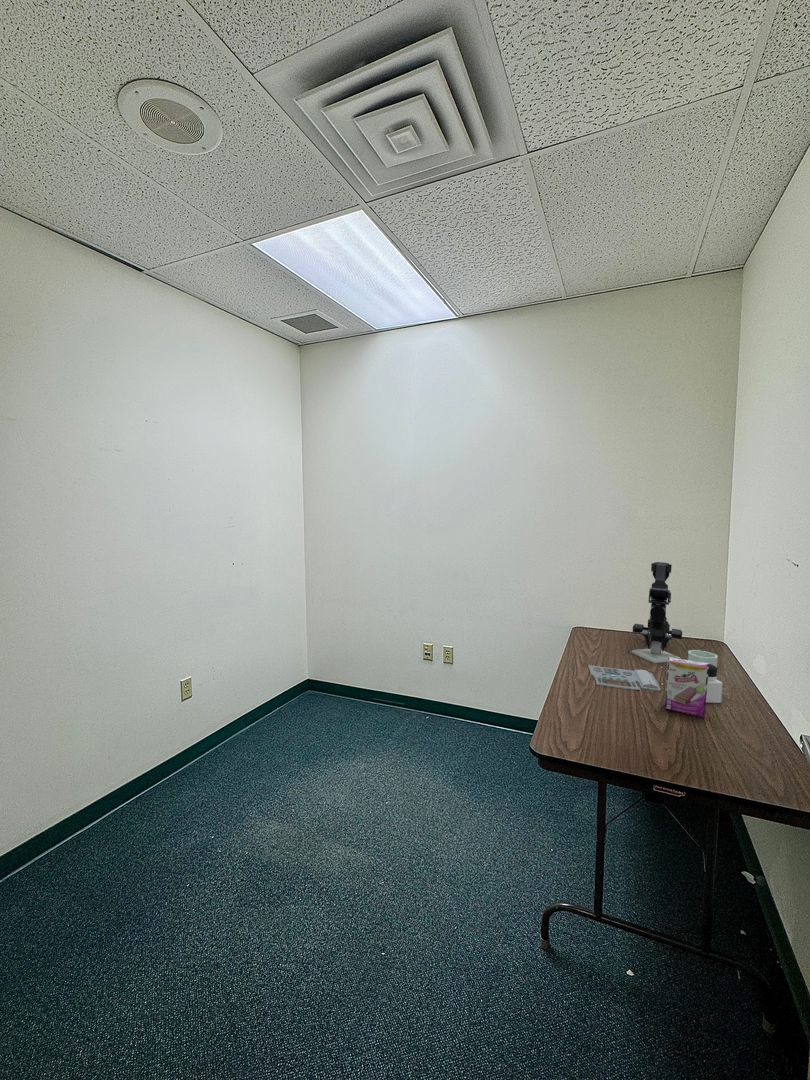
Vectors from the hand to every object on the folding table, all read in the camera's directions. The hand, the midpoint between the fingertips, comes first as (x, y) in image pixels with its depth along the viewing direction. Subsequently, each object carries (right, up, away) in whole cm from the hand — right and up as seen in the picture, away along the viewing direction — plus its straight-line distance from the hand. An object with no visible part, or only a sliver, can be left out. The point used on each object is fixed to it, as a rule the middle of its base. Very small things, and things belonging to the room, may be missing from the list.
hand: (655, 650), depth 196 cm
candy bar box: (-20, -7, -52) cm, 56 cm away
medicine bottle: (-7, -6, -42) cm, 43 cm away
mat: (0, -3, 0) cm, 3 cm away
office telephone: (-27, -5, -26) cm, 38 cm away
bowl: (+13, -4, -10) cm, 17 cm away
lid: (0, -3, 0) cm, 2 cm away
